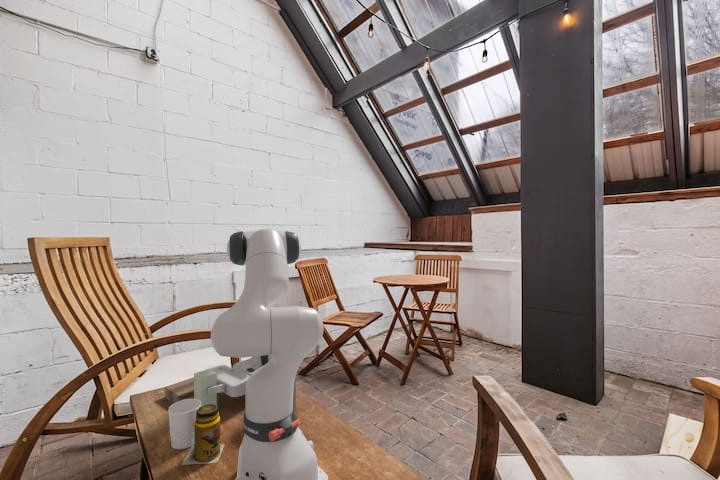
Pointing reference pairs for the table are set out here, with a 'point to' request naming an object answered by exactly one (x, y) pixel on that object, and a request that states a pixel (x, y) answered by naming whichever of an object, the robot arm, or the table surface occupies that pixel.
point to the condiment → (206, 437)
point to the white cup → (183, 423)
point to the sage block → (205, 386)
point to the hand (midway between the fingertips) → (202, 388)
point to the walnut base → (180, 391)
